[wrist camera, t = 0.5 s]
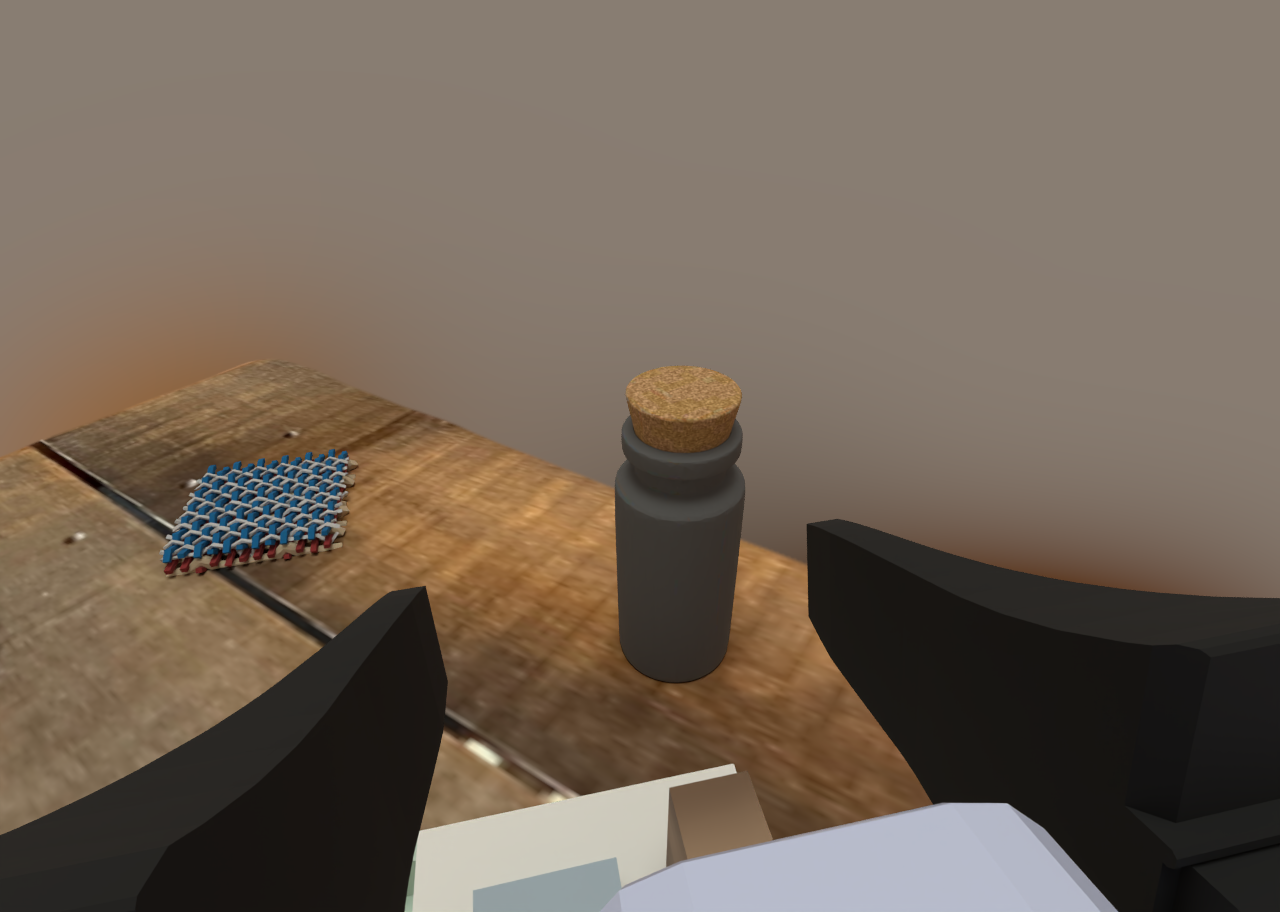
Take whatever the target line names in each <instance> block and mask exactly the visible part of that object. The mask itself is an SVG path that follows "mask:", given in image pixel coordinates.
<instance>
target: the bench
mask: <svg viewBox="0 0 1280 912" xmlns="http://www.w3.org/2000/svg"><path fill="white" fill-rule="evenodd" d="M735 773H737V772H736V769H735V766H734V764H730V765H725V766H720V767H716V768H711V769H706V770H702V771H697V772H692V773H688V774H683V775H678V776H674V777H669V778H664V779H660V780H655V781H650V782H646V783H641V784H636V785H632V786H627V787H622V788H618V789H613V790H608V791H604V792H599V793H594V794H590V795H585V796H580V797H576V798H571V799H566V800H562V801H557V802H552V803H548V804H543V805H538V806H534V807H529V808H524V809H520V810H515V811H510V812H506V813H501V814H496V815H492V816H487V817H482V818H478V819H473V820H468V821H464V822H459V823H454V824H450V825H445V826H440V827H436V828H431V829H426V830H422V831H419V835H418V840H417V853H416V867H415V881H414V895H413V909H412V912H473V890H477V889H482V888H486V887H490V886H494V885H499V884H503V883H507V882H512V881H516V880H520V879H524V878H529V877H533V876H537V875H542V874H546V873H550V872H554V871H559V870H563V869H567V868H572V867H576V866H580V865H584V864H589V863H593V862H597V861H602V860H606V859H610V858H614V857H616V858H617V864H618V870H619V876H620V882H621V888H622V887H624V886H625V885H627V884H629V883H631V882H633V881H636V880H638V879H640V878H643V877H645V876H647V875H650V874H652V873H654V872H656V871H659V870H661V869H663V868H666V854H667V830H668V806H669V788H670V787H675V786H680V785H684V784H689V783H693V782H698V781H703V780H707V779H712V778H716V777H721V776H726V775H730V774H735Z"/></svg>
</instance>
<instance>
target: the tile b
mask: <svg viewBox="0 0 1280 912" xmlns="http://www.w3.org/2000/svg"><path fill="white" fill-rule="evenodd" d="M620 889H621V882H620V876H619V870H618V864H617V858H616V857H614V858H610V859H606V860H602V861H597V862H593V863H589V864H584V865H580V866H576V867H572V868H567V869H563V870H559V871H554V872H550V873H546V874H542V875H537V876H533V877H529V878H524V879H520V880H516V881H512V882H507V883H503V884H499V885H494V886H490V887H486V888H482V889H477V890H473V912H600V911H601V910H602V909H603V907H604V906H605V905H606V904H607V903H608V902H609V901H610V900H611V899H612V898H613V897H614V896H615V894H616V893H617V892H618V891H619V890H620Z"/></svg>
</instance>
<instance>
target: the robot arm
mask: <svg viewBox="0 0 1280 912" xmlns="http://www.w3.org/2000/svg"><path fill="white" fill-rule="evenodd" d="M807 561H808V609H809V618H810V620H811V622H812V624H813V626H814V628H815V630H816V632H817V634H818V635H819V637H820V639H821V641H822V643H823V645H824V647H825V648H826V650H827V652H828V654H829V656H830V657H831V659H832V660H833V662H834V663H835V665H836V666H837V667H838V669H839V670H840V671H841V673H842V674H843V676H844V677H845V678H846V680H847V681H848V682H849V684H850V685H851V687H852V688H853V689H854V691H855V692H856V693H857V695H858V696H859V697H860V699H861V700H862V701H863V703H864V704H865V705H866V707H867V708H868V709H869V711H870V712H871V713H872V715H873V716H874V717H875V719H876V720H877V721H878V723H879V724H880V726H881V727H882V728H883V730H884V731H885V732H886V734H887V735H888V736H889V738H890V739H891V740H892V742H893V743H894V744H895V746H896V747H897V748H898V750H899V751H900V752H901V754H902V755H903V757H904V758H905V760H906V761H907V763H908V764H909V766H910V767H911V769H912V770H913V772H914V773H915V775H916V776H917V778H918V780H919V781H920V783H921V785H922V786H923V788H924V790H925V791H926V793H927V795H928V797H929V798H930V800H931V802H932V803H933V805H931V806H926V807H922V808H917V809H913V810H908V811H904V812H899V813H895V814H890V815H886V816H881V817H877V818H872V819H868V820H863V821H859V822H854V823H849V824H845V825H840V826H836V827H831V828H827V829H822V830H818V831H813V832H809V833H804V834H800V835H795V836H791V837H786V838H782V839H777V840H773V841H768V842H764V843H759V844H755V845H750V846H746V847H741V848H737V849H732V850H728V851H723V852H719V853H714V854H710V855H705V856H701V857H696V858H692V859H687V860H683V861H679V862H677V863H675V864H672V865H670V866H668V867H666V868H663V869H661V870H659V871H656V872H654V873H652V874H650V875H647V876H645V877H643V878H640V879H638V880H636V881H633V882H631V883H629V884H627V885H625V886H624V887H622V888H621V889H620V890H619V891H618V892H617V893H616V894H615V896H614V897H613V898H612V899H611V900H610V901H609V902H608V903H607V904H606V905H605V906H604V907H603V909H602V910H601V911H600V912H1280V598H1241V597H1237V598H1236V597H1210V596H1196V595H1182V594H1169V593H1155V592H1145V591H1136V590H1126V589H1118V588H1111V587H1104V586H1097V585H1090V584H1083V583H1075V582H1070V581H1064V580H1058V579H1052V578H1047V577H1042V576H1038V575H1033V574H1028V573H1023V572H1018V571H1013V570H1009V569H1004V568H1000V567H997V566H993V565H988V564H985V563H981V562H978V561H974V560H971V559H967V558H963V557H960V556H956V555H953V554H950V553H946V552H943V551H940V550H936V549H933V548H930V547H927V546H924V545H921V544H918V543H915V542H912V541H909V540H906V539H903V538H900V537H897V536H894V535H891V534H888V533H885V532H882V531H879V530H876V529H873V528H870V527H867V526H863V525H860V524H857V523H853V522H849V521H845V520H840V519H834V520H828V521H822V522H815V523H809V524H807ZM447 684H448V680H447V676H446V672H445V668H444V663H443V659H442V655H441V650H440V646H439V642H438V638H437V633H436V629H435V625H434V620H433V616H432V612H431V608H430V603H429V599H428V595H427V591H426V586H422V587H416V588H410V589H404V590H397V591H391V592H389V593H388V594H386V595H385V596H383V597H382V598H381V599H380V600H378V601H377V602H376V603H375V604H373V605H372V606H371V607H370V608H368V609H367V610H366V611H365V612H364V613H363V614H361V615H360V616H359V617H358V618H357V619H356V620H354V621H353V622H352V623H351V624H350V625H349V626H347V627H346V628H345V629H344V630H343V631H342V632H340V633H339V634H338V635H337V636H336V637H334V638H333V639H332V640H331V641H330V642H329V643H327V644H326V645H325V646H324V647H323V648H321V649H320V650H319V651H318V652H316V653H315V654H314V655H313V656H311V657H310V658H309V659H307V660H306V661H305V662H304V663H302V664H301V665H300V666H299V667H297V668H296V669H295V670H293V671H292V672H291V673H290V674H288V675H287V676H286V677H284V678H283V679H282V680H281V681H279V682H278V683H277V684H275V685H274V686H273V687H271V688H270V689H269V690H267V691H266V692H264V693H263V694H262V695H260V696H259V697H257V698H256V699H254V700H253V701H252V702H250V703H249V704H247V705H246V706H244V707H243V708H241V709H240V710H238V711H237V712H235V713H234V714H232V715H230V716H229V717H227V718H226V719H224V720H223V721H221V722H220V723H218V724H217V725H215V726H214V727H212V728H210V729H209V730H207V731H205V732H204V733H202V734H200V735H199V736H197V737H195V738H193V739H192V740H190V741H188V742H186V743H185V744H183V745H181V746H179V747H178V748H176V749H174V750H172V751H170V752H169V753H167V754H165V755H163V756H162V757H160V758H158V759H156V760H155V761H153V762H151V763H149V764H148V765H146V766H144V767H142V768H141V769H139V770H137V771H135V772H133V773H131V774H129V775H127V776H126V777H124V778H122V779H120V780H118V781H116V782H114V783H112V784H110V785H108V786H106V787H104V788H102V789H100V790H98V791H96V792H94V793H92V794H90V795H88V796H86V797H84V798H81V799H79V800H77V801H75V802H73V803H71V804H69V805H67V806H65V807H63V808H60V809H58V810H56V811H54V812H52V813H50V814H48V815H46V816H43V817H41V818H39V819H37V820H34V821H32V822H30V823H28V824H26V825H23V826H21V827H19V828H17V829H14V830H12V831H10V832H7V833H5V834H2V835H0V912H405V904H406V897H407V889H408V882H409V877H410V872H411V867H412V862H413V857H414V852H415V847H416V843H417V839H418V835H419V831H420V827H421V823H422V818H423V814H424V810H425V806H426V802H427V798H428V794H429V789H430V785H431V781H432V777H433V773H434V769H435V764H436V760H437V756H438V752H439V747H440V743H441V738H442V734H443V727H444V718H445V708H446V696H447Z"/></svg>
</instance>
